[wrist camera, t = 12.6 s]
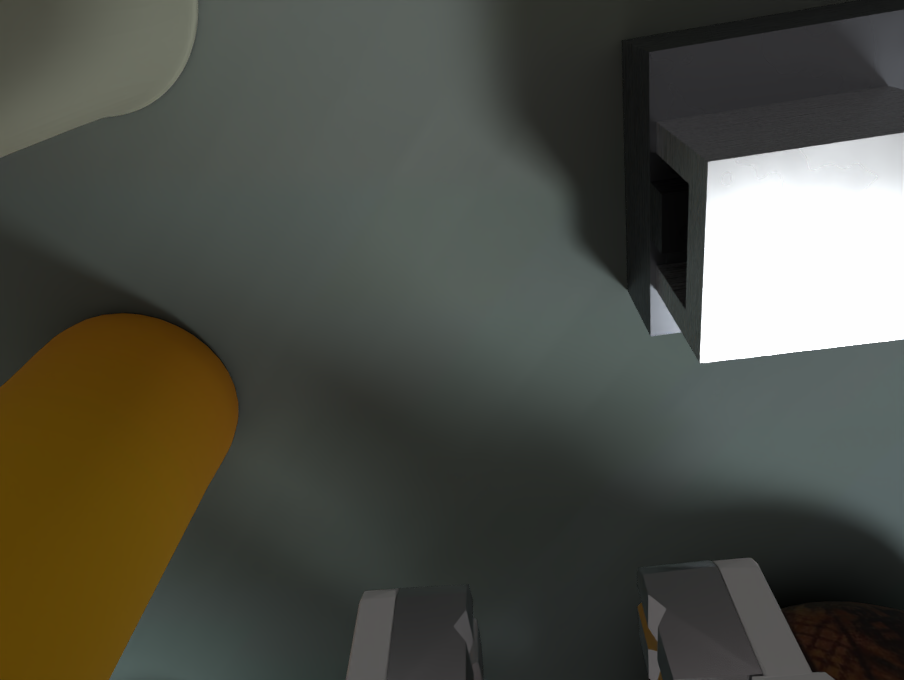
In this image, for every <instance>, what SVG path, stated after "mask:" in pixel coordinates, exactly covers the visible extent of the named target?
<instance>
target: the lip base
mask: <svg viewBox="0 0 904 680" xmlns="http://www.w3.org/2000/svg"><path fill="white" fill-rule="evenodd" d="M622 77H623V118H624V159H625V199H626V240H627V281H628V292H629V294H630V296H631V298H632V300H633V302H634V304H635V306H636V308H637V310H638V312H639V314H640V316H641V318H642V320H643V322H644V324H645V326H646V328H647V330H648V332H649V334H650V336H656V335H664V334H672V333H680V332H681V331H680V329H679V327H678V326H677V324H676V322H675V321H674V319H673V317H672V316H671V314H670V312H669V311H668V309H667V307H666V306H665V304H664V302H663V300H662V299H661V297H660V295H659V294H658V292H657V265H664V264H671V263H679V262H686V261H687V240H688V202H689V183H688V182H686V181H685V180H684V179H683V178H682V177H681V176H680V175H679V174H678V173H677V172H676V171H675V170H674V169H673V168H672V167H671V166H669V165H668V164H667V163H666V162H665V161H664V160H663V159H662V158H661V157H660V156H659V155H658V154H657V122H660V121H666V120H672V119H679V118H685V117H692V116H698V115H704V114H711V113H717V112H724V111H730V110H736V109H743V108H749V107H755V106H762V105H768V104H775V103H781V102H787V101H794V100H800V99H807V98H813V97H819V96H826V95H832V94H839V93H845V92H851V91H858V90H864V89H870V88H877V87H883V86H891V87H895V88H899V89H903V90H904V0H857V1H851V2H845V3H840V4H834V5H828V6H822V7H816V8H810V9H804V10H798V11H793V12H787V13H781V14H775V15H769V16H763V17H757V18H751V19H746V20H740V21H734V22H728V23H722V24H716V25H710V26H704V27H698V28H693V29H687V30H681V31H675V32H669V33H663V34H657V35H651V36H646V37H640V38H634V39H628V40H622Z"/></svg>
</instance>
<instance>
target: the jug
mask: <svg viewBox="0 0 904 680" xmlns="http://www.w3.org/2000/svg"><path fill="white" fill-rule="evenodd" d="M781 611H782V613H783V615H784V617H785V619H786V621H787V623H788V625H789V627H790V629H791V631H792V633H793V635H794V637H795V639H796V641H797V643H798V645H799V647H800V649H801V651H802V653H803V655H804V657H805V659H806V661H807V663H808V665H809V667H810V669H811V671H812V672H826V673H827V674H828V675H829V676H831V677H832V678H833V679H835V680H904V611H903V610H898V609H894V608H889V607H884V606H878V605H872V604H866V603H857V602H832V601H821V602H809V603H803V604H798V605H793V606H789V607H786V608H782V609H781Z"/></svg>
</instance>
